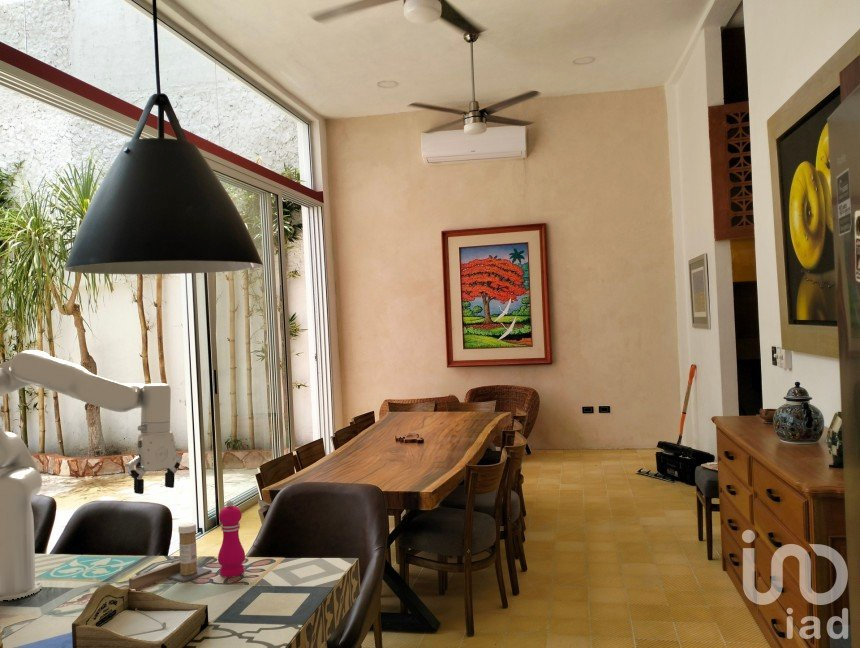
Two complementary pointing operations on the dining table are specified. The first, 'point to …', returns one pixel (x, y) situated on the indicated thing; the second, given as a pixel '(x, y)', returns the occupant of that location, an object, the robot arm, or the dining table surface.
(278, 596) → the dining table surface
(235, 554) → the pepper mill
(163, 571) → the guide rail
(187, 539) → the sprinkles bottle
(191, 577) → the end pad
